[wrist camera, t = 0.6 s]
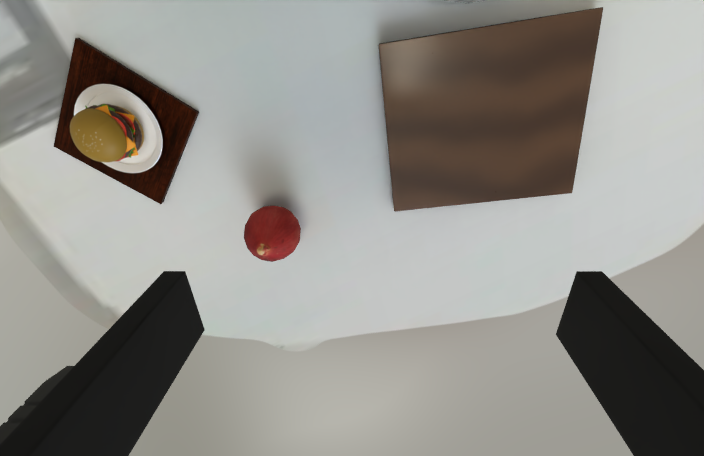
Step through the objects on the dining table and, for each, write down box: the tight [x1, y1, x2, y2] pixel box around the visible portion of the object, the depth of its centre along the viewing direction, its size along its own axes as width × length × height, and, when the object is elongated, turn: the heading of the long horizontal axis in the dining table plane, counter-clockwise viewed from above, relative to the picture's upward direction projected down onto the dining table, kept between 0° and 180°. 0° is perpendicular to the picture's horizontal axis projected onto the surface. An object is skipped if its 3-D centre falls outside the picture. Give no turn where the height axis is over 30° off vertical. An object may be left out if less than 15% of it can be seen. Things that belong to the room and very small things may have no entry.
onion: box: [244, 206, 301, 262], centre depth 35 cm, size 6×6×8 cm
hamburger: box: [54, 38, 199, 204], centre depth 33 cm, size 12×12×6 cm
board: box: [379, 7, 603, 211], centre depth 32 cm, size 16×18×2 cm
